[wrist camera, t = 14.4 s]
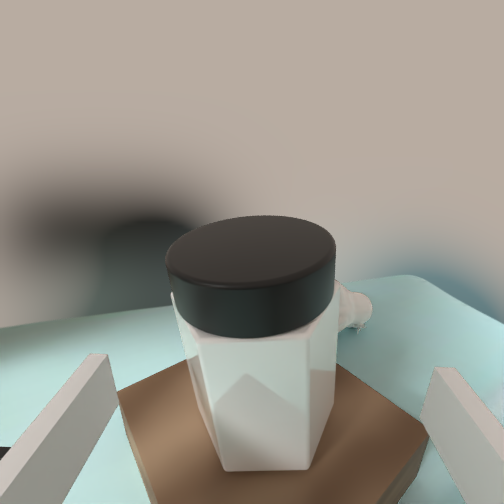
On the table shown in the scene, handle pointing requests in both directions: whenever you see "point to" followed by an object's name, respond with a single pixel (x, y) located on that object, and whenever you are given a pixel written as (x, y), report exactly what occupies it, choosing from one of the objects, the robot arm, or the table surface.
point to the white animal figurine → (353, 309)
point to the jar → (259, 335)
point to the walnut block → (271, 482)
